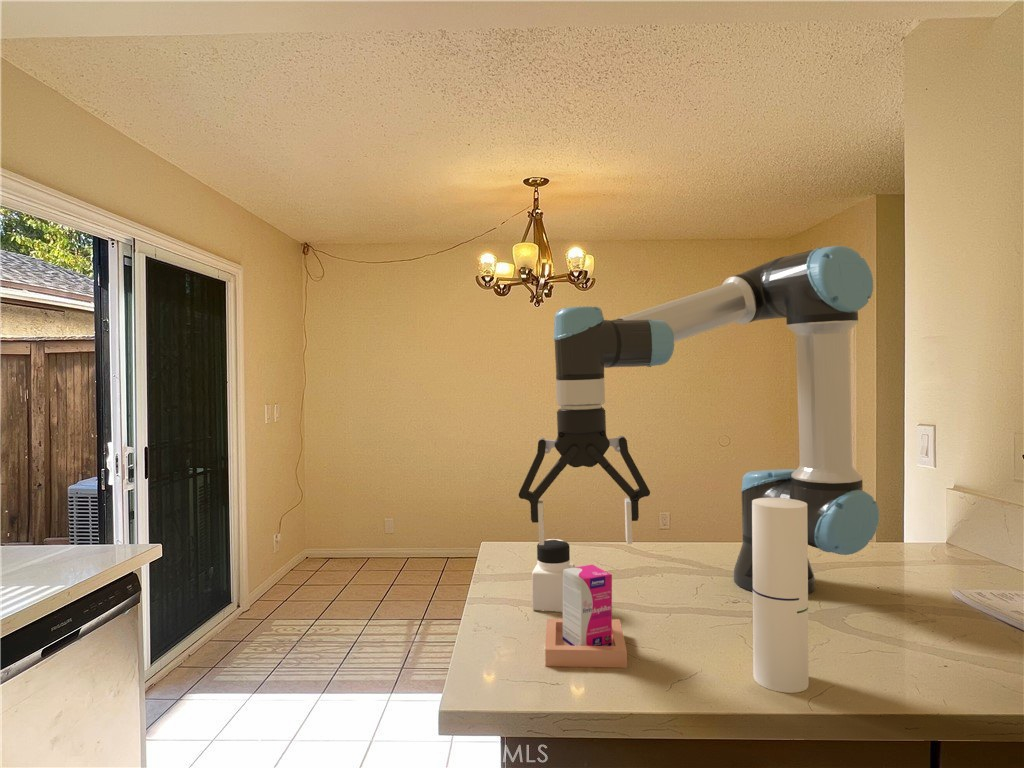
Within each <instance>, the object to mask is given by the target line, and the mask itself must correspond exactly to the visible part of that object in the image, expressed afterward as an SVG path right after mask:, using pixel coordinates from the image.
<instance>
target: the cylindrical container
mask: <svg viewBox="0 0 1024 768" xmlns="http://www.w3.org/2000/svg"><path fill="white" fill-rule="evenodd" d="M808 546H809V545H808V527H807V503H805V502H803V501H799V500H794V499H787V498H758V499H754V500H752V562H753V591H752V643H753V644H752V645H753V647H752V650H753V651H752V652H753V653H752V654H753V655H752V656H753V658H752V659H753V660H752V661H753V662H752V663H753V666H752V668H753V669H752V670H753V673H752V674H753V679H754V681H755V682H756V683H757V685H760V687H763V688H766V689H767V690H768V689H769V690H770V691H775V692H778V693H784V694H785V693H786V694H787V693H788V694H795V693H800V692H803V691H805V690H807V689H808V688H809V687H810V686H809V683H810V682H809V678H810V677H809V593H808V559H809V557H808V556H809V551H808Z"/></svg>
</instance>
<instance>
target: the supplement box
mask: <svg viewBox="0 0 1024 768" xmlns="http://www.w3.org/2000/svg"><path fill="white" fill-rule="evenodd" d="M612 595H613V575H612V573H610V572H608V571H605V570H603V569H602V568H600V567H597V566H596V565H594V564H588V565H587V564H586V565H581V566H576V567H574V568H568V569H563V612H562V619H563V640H564V641H565V642H566V643H568V644H569V645H571V646H611V645H612V617H613V616H612V614H613V613H612V612H613V597H612Z"/></svg>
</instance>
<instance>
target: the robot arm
mask: <svg viewBox="0 0 1024 768" xmlns="http://www.w3.org/2000/svg"><path fill="white" fill-rule="evenodd" d="M873 292H874V277H873V274H872V271H871V268H870V266H869V264H868V263H867V261H866V260H865V258H864V257H862V256H861V255H860V253H859V252H858V251H857V250H855V249H853V248H851V247H849V246H845V245H833V246H824V247H823V246H822V247H817V248H815V249H811V250H808V251H807V250H806V251H802V252H798V253H794V254H790V255H786V256H781V257H778V258H773V259H772V260H769V261H767V262H765V263H764V262H763V263H762V264H760V265H757V266H755V267H753V268H751V269H749V270H746V271H743V272H741V273H738V274H736V275H735V274H734V275H732V276H729V277H728V278H726V279H725V280H723V282H722V284H721V285H717V286H715V287H711V288H709V289H705V290H702V291H700V292H696V293H694V294H690V295H686V296H684V297H680V298H678V299H674V300H671V301H668V302H665V303H661V304H659V305H655V306H652V307H649V308H645V309H643V310H639V311H636V312H634V313H630V314H627V315H624V316H621V317H618V318H616V319H615V318H614V319H612V320H610V319H609V320H608V319H605V317H604V315H603V310H602V309H601V308H600V307H598V306H571V307H564V308H563V307H562V308H561V309H559V310H557V311H556V312H555V315H554V328H553V340H554V354H555V355H554V356H555V359H554V360H555V373H556V374H555V392H556V394H555V395H556V397H555V399H556V405H557V406H560V408H558V409H557V411H556V421H557V423H556V424H557V437H556V439H555V440H553V439H546V438H544V437H541V438H539V440H538V441H537V450H536V451H537V452H536V454H535V457H534V459H533V461H532V463H531V465H530V468H529V470H528V472H527V475H526V477H525V479H524V481H523V483H522V485H521V487H520V490H519V492H518V498H519V499H521V500H526V501H528V502H529V504H530V520H531V523H533V524H534V523H537V524H538V525H537V526H538V543H539V545H544V540H545V523H544V522H545V521H544V520H545V519H544V515H545V514H544V500H543V499H540V498H541V497H542V496H543V494H544V493H545V492H546V491H547V490H548V488H549V487H550V486H551V485H552V484H553V483H554V482H555V480H556V479H557V478H558V476H559V475H560V474H561V472H562V471H564V469H565V468H566V467H567V466H570V467H572V468H581V467H586V468H594V467H595V466H596V465H599V466H600V467H601V468H602V469H603V470H604V471H605V472H606V473H607V474H608V476H609V477H611V479H612V480H613V481H614V482H615V483H616V484H617V485H618V487H619V488H621V490H622V491H623V492H624V493H625V494H626V495H627V496H628V497H625V498H624V522H625V525H624V526H625V528H624V529H625V530H624V531H625V540H626V544H627V545H631V544H633V523H632V522H638V521H639V519H640V518H639V517H640V516H639V515H640V514H639V512H640V511H639V501H640V500H641V499H642V498H645V497H649V496H650V494H651V490H650V489H649V487H648V485H647V482H645V480H644V478H643V475H642V474H641V472H640V470H639V469H638V466H637V464H636V463H635V461H634V459H633V458H632V456H631V454H630V452H629V447H628V439H627V438H626V437H625V436H623V435H619V436H618V437H615V438H613V437H612V438H608V436H607V425H606V424H607V423H606V409H605V408H604V407H602V405H604V404H606V389H605V383H606V382H605V369H606V368H607V369H609V368H633V367H634V368H635V367H640V368H641V367H647V368H651V367H654V366H662V365H663V366H664V365H665V364H667V363H668V362H669V361H670V359H671V358H672V357H673V353H674V351H675V343H676V342H679V341H682V340H685V339H689V338H691V337H695V336H697V335H700V334H703V333H707V332H709V331H713V330H715V329H718V328H722V327H725V326H727V325H730V324H733V323H734V324H737V325H739V326H740V325H747V324H750V323H753V322H757V321H761V320H762V321H764V320H773V319H785V318H786V321H785V322H786V328H787V329H788V330H790V331H791V332H792V333H793V334H794V335H795V344H796V346H795V347H796V348H795V349H796V382H797V383H796V384H797V410H798V411H797V413H798V445H799V446H798V447H799V452H798V453H799V465H798V467H797V469H796V468H795V469H794V468H790V469H789V468H788V469H787V468H786V469H783V468H782V469H763V470H762V469H761V470H752V471H748V472H746V473H745V474H744V475H743V476H742V480H741V481H742V483H741V484H742V485H741V491H740V494H741V519H742V520H741V523H742V524H741V525H742V543H741V544H742V545H741V547H740V549H739V554H738V556H737V559H736V562H735V565H734V567H733V582H734V584H736V585H737V586H738V587H740V588H741V589H745V590H747V591H750V592H753V562H752V500H754V499H758V498H787V499H794V500H799V501H803V502H805V503H807V527H808V546H810V547H812V548H815V549H819V550H820V551H821V552H825V553H833V554H837V555H841V556H847V555H853V554H857V553H859V552H860V551H862V550H863V549H864V548H866V546H868V545H869V542H870V541H871V540H872V539H873V538H874V537H875V535H876V532H877V530H878V527H879V522H880V509H879V506H878V503H877V501H876V500H874V499H875V498H874V497H873V496H872V495H871V494H869V493H868V492H866V491H865V490H863V485H864V484H863V475H862V474H860V473H859V472H858V471H857V470H856V469H855V468H854V467H853V443H852V442H853V441H852V439H853V438H852V437H853V436H852V435H853V434H852V408H851V407H852V406H851V404H852V402H851V372H850V371H851V369H850V368H851V367H850V365H851V364H850V338H849V337H850V336H849V335H850V332H851V331H852V329H853V328H854V327H855V326H856V325H857V324H858V323H859V311H860V310H861V309H863V308H864V307H866V306H867V305H868V303H869V299H871V297H872V295H873ZM610 447H612V448H613V449H614V450H615V451H616V452H617V453H619V454H620V456H621V457H622V459H623V461H624V463H625V465H626V467H627V469H628V470H629V472H630V474H631V476H632V478H633V479H634V481H635V483H636V485H637V487H638V488H635V489H634V488H633V487H632V486H631V484H630V483H629V482H628V481H627V480H626V479H625V477H623V475H622V474H620V472H619V471H618V470H617V469H616V468H615V467H614V466H613V465H612V464H611V462H610V461H609V460H608V459H607V457H605V454H606V452H607V451H608V449H610ZM553 448H555V450H556V451H557V452H558V454H559V455H560V457H559V459H558V460H557V461H556V463H555V464H554V465H553V466H552V468H551V469H550V470H549V471H548V473H547V474H546V475H545V477H543V479H542V480H541V482H540V483H539V484H538V485H537V486H536V487H535V489H534V490H533V491H531V490H530V489H531V487H532V485H533V482H534V481H535V478H536V476H537V474H538V471H539V470H540V467H541V466H542V463H543V460H544V459H545V455H546V454H549V453H550V452H551V451H552V449H553ZM815 582H816V580H815V574H814V572H813V568H812V565H811V563H810V560H809V558H808V594H810V593H812V592H814V590H815V588H816V583H815Z"/></svg>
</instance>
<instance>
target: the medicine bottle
mask: <svg viewBox="0 0 1024 768" xmlns="http://www.w3.org/2000/svg"><path fill="white" fill-rule="evenodd" d="M570 549H571V548H570V544H569V543H568V542H567V541H565V540H563V539H558V538H551V539H550V538H549V539H544V545H539V542H538V543H537V546H536V554H537V555H536V558H537V559H536V561H537V562H536V563H537V564H536V565H535V567H534V568H533V570H532V573H531V594H532V595H531V600H532V601H531V602H532V604H531V605H532V606H531V607H532V608H531V609H532V611H533V610H544V611H543V612H547V611H555V612H554V613H563V569H568V568H574V567H575V563H574V562H570V561H571V560H570V558H571V556H570V554H571V553H570Z"/></svg>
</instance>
